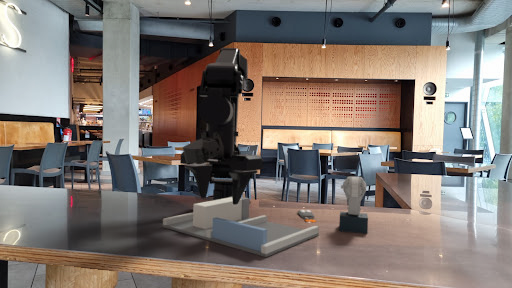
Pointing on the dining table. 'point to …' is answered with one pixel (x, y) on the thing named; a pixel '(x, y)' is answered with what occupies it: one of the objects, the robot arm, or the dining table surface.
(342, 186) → the bust statue
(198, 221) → the cream rectangular block
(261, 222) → the grey rimmed tray
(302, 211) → the key chain
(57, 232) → the dining table surface
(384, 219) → the dining table surface
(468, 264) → the dining table surface
